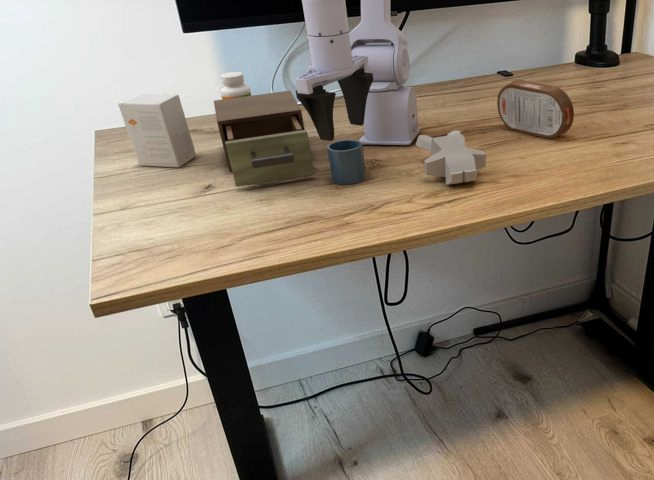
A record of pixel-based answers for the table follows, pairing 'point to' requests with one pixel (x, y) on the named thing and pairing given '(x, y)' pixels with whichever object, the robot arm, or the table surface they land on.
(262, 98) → the cabinet
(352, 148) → the cup
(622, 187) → the table surface
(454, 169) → the grey branched angular piece
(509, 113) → the tin
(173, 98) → the small box
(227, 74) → the supplement bottle
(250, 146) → the drawer
